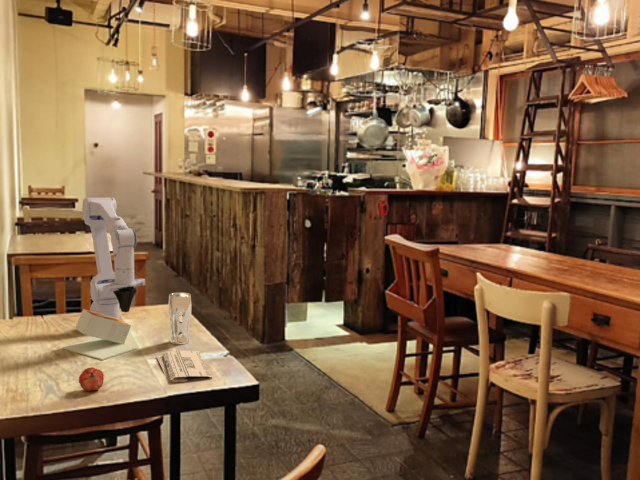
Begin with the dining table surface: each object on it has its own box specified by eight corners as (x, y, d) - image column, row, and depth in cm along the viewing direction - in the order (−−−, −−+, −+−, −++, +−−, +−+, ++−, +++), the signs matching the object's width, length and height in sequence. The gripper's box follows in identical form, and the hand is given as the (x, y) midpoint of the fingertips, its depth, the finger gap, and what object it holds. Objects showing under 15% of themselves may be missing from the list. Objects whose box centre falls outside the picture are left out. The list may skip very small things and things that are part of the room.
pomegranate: (78, 394, 142) (75, 385, 136) (81, 372, 145) (79, 362, 139) (102, 395, 143) (101, 386, 137) (105, 373, 146) (104, 363, 140)
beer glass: (195, 339, 183) (195, 293, 181) (183, 346, 176) (183, 298, 174) (176, 337, 185) (176, 291, 183) (164, 343, 178) (163, 295, 176)
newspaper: (155, 358, 166) (156, 350, 166) (198, 359, 170) (199, 350, 170) (163, 387, 145) (164, 377, 145) (211, 386, 149) (212, 377, 149)
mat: (62, 348, 171) (62, 347, 171) (96, 338, 181) (96, 337, 181) (102, 360, 162) (102, 359, 162) (136, 349, 172) (136, 348, 172)
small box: (131, 325, 177) (91, 314, 168) (124, 345, 176) (83, 334, 167) (122, 319, 183) (82, 308, 175) (114, 338, 182) (74, 328, 174)
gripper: (113, 273, 168) (114, 318, 170) (151, 266, 181) (152, 308, 183) (97, 270, 172) (99, 314, 174) (136, 264, 184) (136, 305, 186)
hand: (125, 311), depth 178 cm, fingers closed
